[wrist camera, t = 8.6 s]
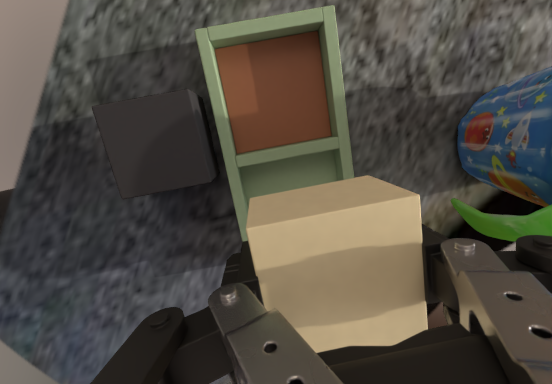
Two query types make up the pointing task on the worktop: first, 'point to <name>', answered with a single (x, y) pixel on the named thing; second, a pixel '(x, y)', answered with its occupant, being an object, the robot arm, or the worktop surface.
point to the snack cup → (511, 153)
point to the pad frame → (277, 103)
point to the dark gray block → (157, 142)
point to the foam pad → (341, 261)
